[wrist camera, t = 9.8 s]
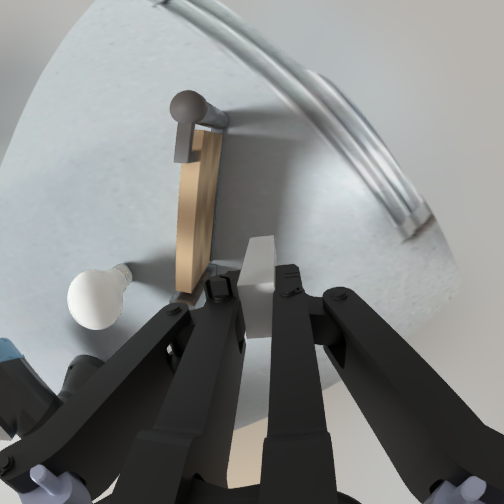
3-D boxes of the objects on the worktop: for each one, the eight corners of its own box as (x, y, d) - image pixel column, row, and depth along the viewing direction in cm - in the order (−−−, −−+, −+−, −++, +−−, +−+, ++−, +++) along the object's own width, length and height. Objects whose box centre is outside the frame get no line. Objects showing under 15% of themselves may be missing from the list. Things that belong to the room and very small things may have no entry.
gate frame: (216, 277, 32) (194, 320, 24) (191, 273, 32) (163, 314, 24) (231, 112, 25) (209, 96, 17) (202, 110, 26) (170, 96, 17)
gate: (213, 263, 31) (187, 309, 22) (192, 260, 31) (160, 303, 22) (230, 109, 25) (205, 90, 16) (207, 107, 25) (172, 90, 16)
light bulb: (98, 256, 33) (47, 294, 23) (133, 240, 32) (80, 279, 22) (121, 298, 35) (78, 344, 25) (156, 286, 34) (115, 337, 24)
